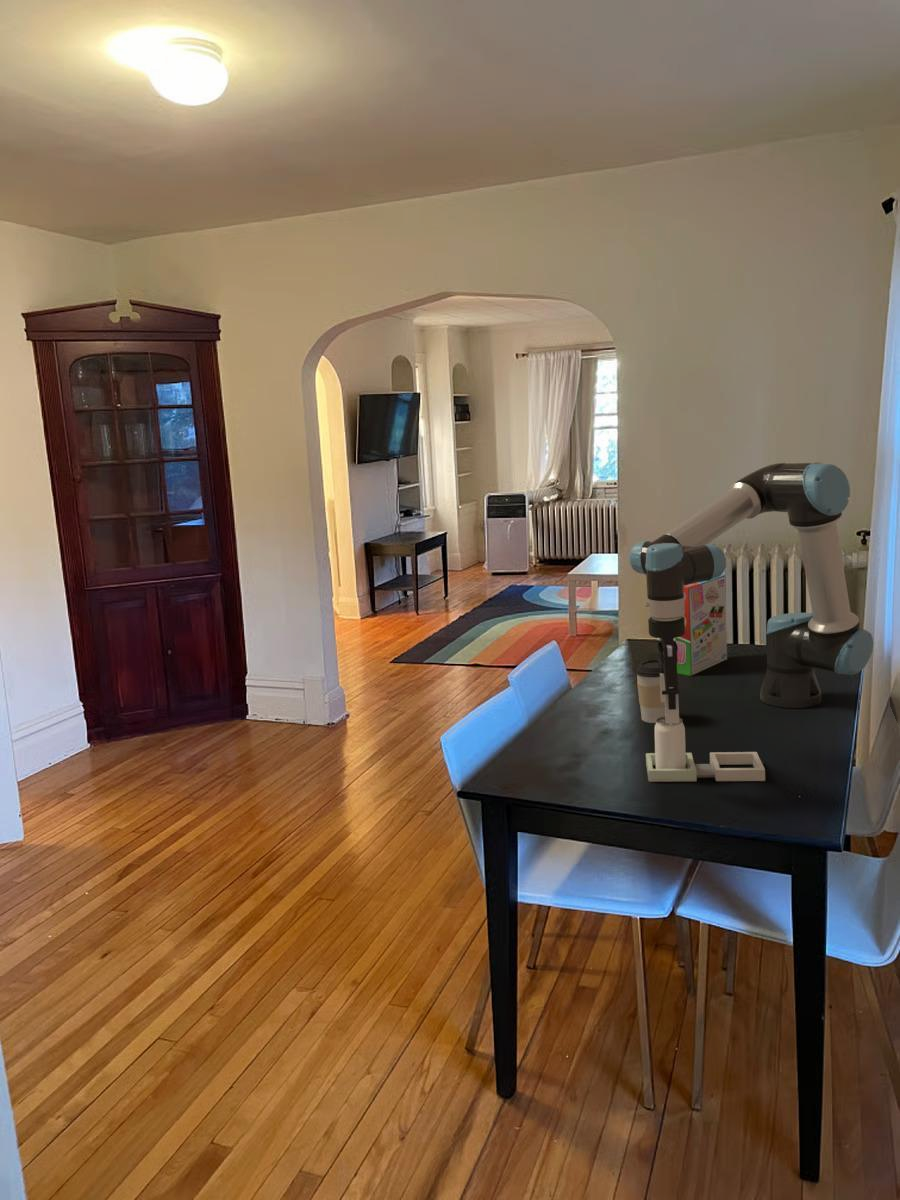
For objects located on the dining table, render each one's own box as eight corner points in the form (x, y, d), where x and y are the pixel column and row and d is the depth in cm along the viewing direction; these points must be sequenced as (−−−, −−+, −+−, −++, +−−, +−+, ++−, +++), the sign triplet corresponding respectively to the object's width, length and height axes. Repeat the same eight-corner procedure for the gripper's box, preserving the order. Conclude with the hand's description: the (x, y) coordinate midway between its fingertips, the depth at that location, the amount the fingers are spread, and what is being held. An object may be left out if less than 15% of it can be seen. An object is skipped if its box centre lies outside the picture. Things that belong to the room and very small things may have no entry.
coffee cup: (674, 724, 222) (672, 667, 219) (637, 724, 224) (635, 668, 221) (672, 712, 230) (670, 657, 227) (637, 712, 232) (635, 658, 229)
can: (667, 780, 189) (666, 727, 187) (649, 770, 195) (648, 719, 192) (692, 773, 191) (691, 721, 189) (673, 764, 197) (672, 713, 195)
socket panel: (756, 762, 195) (756, 751, 194) (765, 780, 185) (765, 769, 184) (646, 763, 199) (645, 753, 198) (648, 781, 189) (648, 770, 188)
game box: (712, 657, 277) (710, 573, 272) (728, 660, 273) (726, 574, 268) (675, 673, 264) (672, 585, 258) (691, 676, 260) (688, 586, 254)
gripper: (644, 604, 199) (648, 694, 203) (651, 632, 175) (655, 732, 179) (678, 603, 197) (681, 693, 202) (690, 630, 173) (693, 732, 178)
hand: (669, 712), depth 190 cm, fingers open, 13 cm apart
